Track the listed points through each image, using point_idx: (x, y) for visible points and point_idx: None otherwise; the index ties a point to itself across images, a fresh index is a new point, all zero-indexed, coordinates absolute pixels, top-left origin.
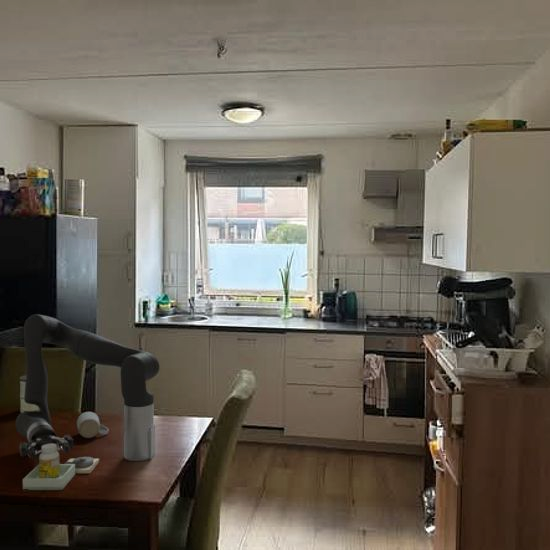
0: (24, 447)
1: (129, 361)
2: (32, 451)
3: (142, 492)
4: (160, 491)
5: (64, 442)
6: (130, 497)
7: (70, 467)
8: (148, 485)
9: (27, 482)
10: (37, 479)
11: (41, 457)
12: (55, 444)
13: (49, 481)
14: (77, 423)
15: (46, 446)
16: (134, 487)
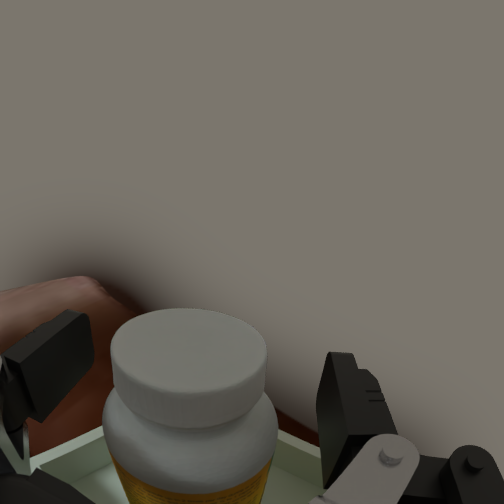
0: (457, 458)
1: None
2: (354, 359)
3: (66, 296)
4: (48, 285)
5: (2, 362)
6: (97, 298)
7: (71, 449)
8: (30, 303)
9: None
10: (289, 436)
11: (267, 396)
12: (121, 333)
13: None
14: None
15: (216, 344)
16: (50, 312)
